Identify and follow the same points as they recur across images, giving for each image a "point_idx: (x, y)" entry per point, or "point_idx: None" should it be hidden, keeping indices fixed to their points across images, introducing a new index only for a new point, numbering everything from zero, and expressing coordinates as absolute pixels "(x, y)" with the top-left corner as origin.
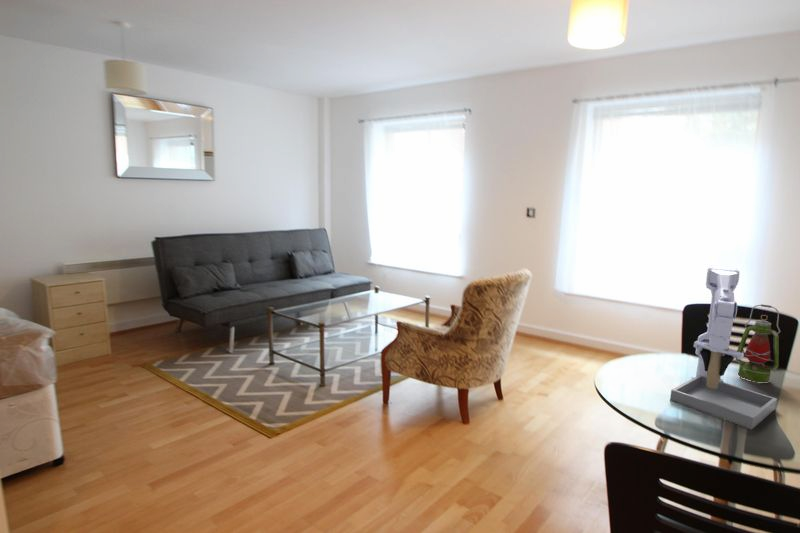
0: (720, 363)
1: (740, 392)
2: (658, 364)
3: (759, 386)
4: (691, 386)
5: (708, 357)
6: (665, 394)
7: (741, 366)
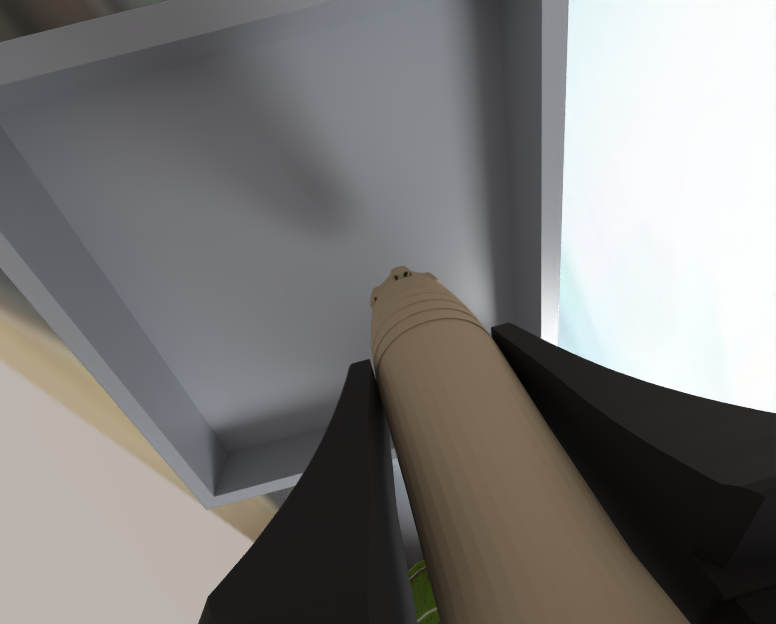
0: (407, 480)
1: None
2: (723, 398)
3: None
4: (522, 284)
5: (611, 467)
6: (580, 49)
7: None
